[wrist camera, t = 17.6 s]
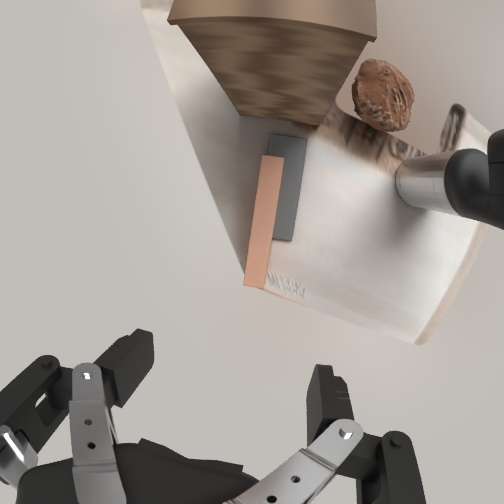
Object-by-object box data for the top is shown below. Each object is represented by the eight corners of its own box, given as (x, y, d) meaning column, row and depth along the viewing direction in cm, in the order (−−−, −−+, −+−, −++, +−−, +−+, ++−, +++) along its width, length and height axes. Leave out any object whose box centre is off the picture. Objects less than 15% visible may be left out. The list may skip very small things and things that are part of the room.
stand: (327, 58, 40) (366, -63, 9) (320, 127, 44) (377, 37, 13) (249, 48, 42) (208, -75, 10) (238, 116, 45) (166, 20, 14)
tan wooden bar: (284, 160, 46) (284, 157, 42) (264, 281, 51) (263, 288, 48) (263, 157, 46) (262, 154, 42) (245, 278, 51) (243, 285, 48)
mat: (307, 140, 45) (307, 139, 44) (291, 240, 49) (291, 240, 49) (270, 134, 45) (269, 133, 45) (255, 234, 50) (255, 234, 49)
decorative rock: (348, 66, 40) (361, 43, 31) (403, 82, 40) (424, 64, 30) (343, 128, 44) (357, 115, 34) (399, 143, 43) (424, 135, 33)
